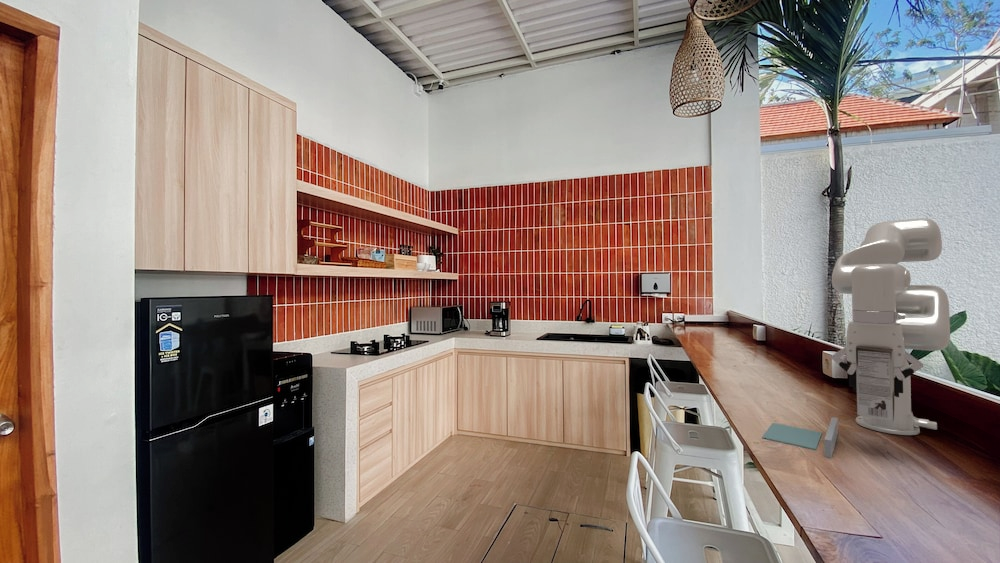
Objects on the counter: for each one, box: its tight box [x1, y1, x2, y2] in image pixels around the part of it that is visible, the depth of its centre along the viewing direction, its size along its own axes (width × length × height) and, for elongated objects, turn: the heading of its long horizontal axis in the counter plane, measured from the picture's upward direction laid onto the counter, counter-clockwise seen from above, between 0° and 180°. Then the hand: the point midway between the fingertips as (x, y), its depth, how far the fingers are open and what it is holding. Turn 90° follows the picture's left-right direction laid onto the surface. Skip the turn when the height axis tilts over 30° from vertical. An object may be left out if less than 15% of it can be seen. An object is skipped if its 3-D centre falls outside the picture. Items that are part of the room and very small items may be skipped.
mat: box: [761, 422, 823, 451], centre depth 104 cm, size 11×14×1 cm
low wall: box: [824, 417, 839, 459], centre depth 99 cm, size 1×20×4 cm, turn 136°
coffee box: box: [855, 346, 895, 421], centre depth 94 cm, size 9×6×16 cm
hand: (875, 392), depth 94 cm, fingers closed on coffee box, 6 cm apart
